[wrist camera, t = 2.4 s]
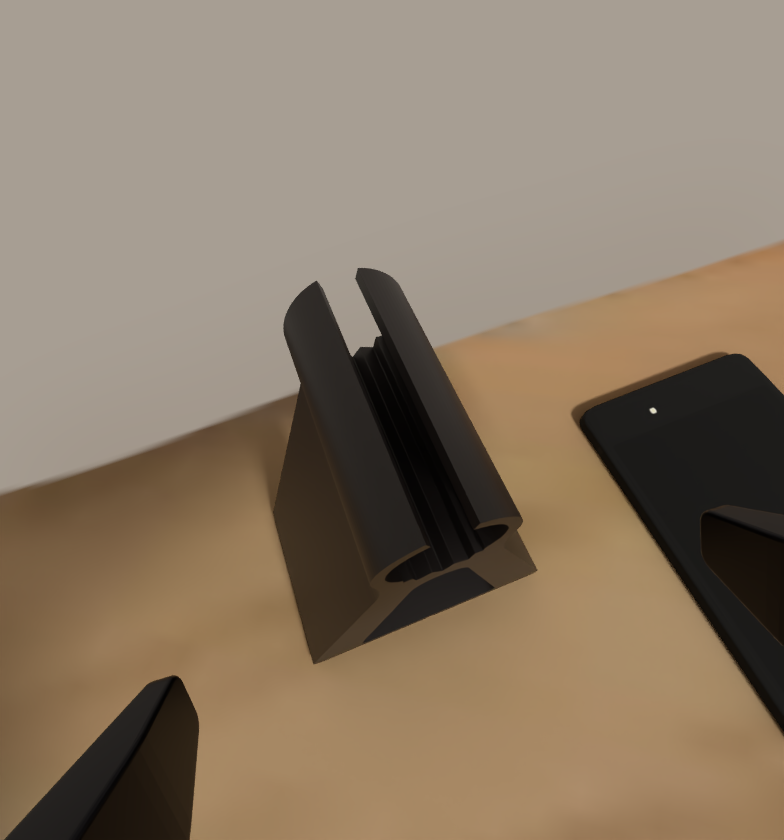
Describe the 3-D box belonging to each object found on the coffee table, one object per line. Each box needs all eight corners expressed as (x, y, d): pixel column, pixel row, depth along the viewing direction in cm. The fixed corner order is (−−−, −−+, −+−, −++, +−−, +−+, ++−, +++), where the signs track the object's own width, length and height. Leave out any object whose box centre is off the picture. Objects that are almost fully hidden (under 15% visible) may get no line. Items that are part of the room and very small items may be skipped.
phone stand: (314, 664, 17) (161, 649, 7) (275, 514, 20) (123, 336, 9) (535, 574, 19) (700, 440, 8) (470, 444, 21) (528, 216, 11)
